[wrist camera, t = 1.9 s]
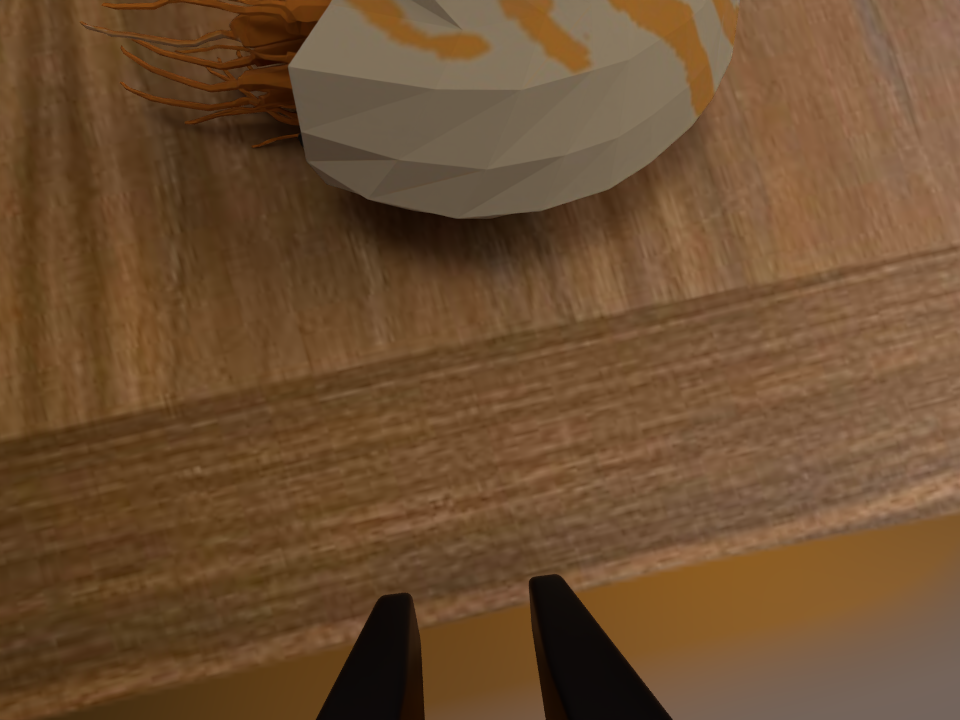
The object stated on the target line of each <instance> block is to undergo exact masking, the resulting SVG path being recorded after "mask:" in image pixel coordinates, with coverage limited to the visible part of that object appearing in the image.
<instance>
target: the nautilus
mask: <svg viewBox="0 0 960 720" xmlns="http://www.w3.org/2000/svg"><path fill="white" fill-rule="evenodd" d="M230 1H235V2H241V3H245V4H249V5H255V6H249V7H245V6H238V5H232V4H228V3H225V2H221V1H218V0H159V1H156V2H154V3H131V4H110V3H103V4H102V6H105V7H109V8H113V9H147V10H155V9H157V8H159V7H161V6H164V5H166V4H168V3H180V2H185V3H190V4H196V5H202V6H208V7H213V8H218V9H222V10H226V11H229V12H234V13H238V14H239V15H238V16H237V17H236V18H234V19H233V20H232V21H231V23H230V24H229V26H230V28H231V30H230V31H229V30H218V31H214V32H210V33H207V34H205V35H204V36H202V37H200V38H199V39H197V40H176V39H169V38H163V37H157V36H150V35H144V34H138V33H131V32H120V31H112V30H109V29H107V28H103V27H96V26H90V25H87V24H86V23H84V22H83V21H79V22H80V23H81V24H82V25H83V26H84V27H85V28H86V29H89V30H93V31H97V32H101V33H104V34H107V35H109V36H111V37H125V38H130V39H132V40H133V41H134V42H136V43H138V44H140V45H142V46H144V47H146V48H148V49H150V50H152V51H154V52H156V53H158V54H160V55H162V56H166V57H170V58H174V59H178V60H182V61H185V62H189V63H193V64H197V65H201V66H205V67H206V68H207V69H208V71H209V72H210V73H212V74H214V75H215V76H217V77H219V78H221V79H223V80H225V81H227V82H222V83H217V84H213V85H208V84H205V83H201V82H197V81H194V80H191V79H188V78H185V77H182V76H179V75H176V74H173V73H170V72H167V71H164V70H161V69H158V68H155V67H153V66H150V65H149V64H147V63H146V62H144V61H142V60H141V59H139V58H137V57H136V56H134V55H132V54H131V53H129V52H127V51H126V50H125V49H124V48H123V46H122V45H121V50H122V52H123V54H125V55H126V56H128V57H129V58H131V59H132V60H134V61H135V62H137V63H138V64H139V65H141V66H142V67H144V68H146V69H147V70H149V71H150V72H153V73H156V74H158V75H161V76H164V77H166V78H169V79H172V80H175V81H177V82H180V83H183V84H185V85H188V86H191V87H194V88H197V89H201V90H205V91H208V92H220V91H230V90H237V89H239V90H240V91H241V92H243V93H244V94H245V95H246V96H247V97H241V98H238V99H236V100H235V101H230V102H225V103H219V104H212V105H209V104H202V103H195V102H188V101H182V100H175V99H168V98H161V97H155V96H152V95H149V94H146V93H143V92H141V91H138V90H135V89H132V88H129V87H128V86H127V85H126V84H124V83H123V82H120V83H121V84H122V85H123V86H124V88H125V89H126V90H128V91H130V92H132V93H134V94H137V95H139V96H141V97H143V98H145V99H148V100H150V101H154V102H158V103H163V104H168V105H172V106H179V107H185V108H192V109H198V110H205V111H214V110H220V109H226V108H231V109H227V110H224V111H219V112H216V113H213V114H210V115H207V116H204V117H201V118H198V119H195V120H191V121H185V124H197V123H200V122H204V121H207V120H210V119H214V118H217V117H220V116H229V115H239V114H248V113H257V112H267V113H269V114H270V115H271V116H273V117H274V118H275V119H276V120H278V121H280V122H283V123H287V124H290V125H300V130H301V132H300V133H297V134H291V135H285V136H280V137H276V138H272V139H270V140H267V141H265V142H263V143H260V144H258V145H252V148H254V147H260V146H262V145H265V144H268V143H270V142H273V141H277V140H281V139H286V138H293V137H298V139H299V141H300V143H301V145H302V147H303V148H304V151H305V156H306V161H307V163H308V164H309V165H310V166H311V167H312V168H313V169H314V170H315V171H316V173H317V174H318V175H319V176H320V177H321V178H322V179H323V180H324V182H325V183H326V184H328V185H331V186H334V187H337V188H341V189H344V190H347V191H350V192H354V193H357V194H360V195H361V196H363V197H365V198H366V199H368V200H372V201H376V202H380V203H384V204H388V205H392V206H396V207H400V208H404V209H408V210H412V211H419V212H429V213H434V214H438V215H443V216H447V217H452V218H457V219H492V218H496V217H500V216H504V215H508V214H513V213H524V212H535V211H542V210H546V209H549V208H552V207H555V206H558V205H561V204H564V203H567V202H571V201H574V200H577V199H580V198H583V197H586V196H589V195H593V194H596V193H599V192H602V191H605V190H608V189H610V188H612V187H613V186H615V185H617V184H618V183H620V182H621V181H623V180H624V179H626V178H628V177H629V176H631V175H632V174H634V173H635V172H637V171H639V170H640V169H642V168H643V167H645V166H646V165H648V164H650V163H651V162H652V161H653V160H654V159H655V158H656V157H658V156H659V155H660V154H661V153H662V152H663V151H664V150H665V149H667V148H668V147H669V146H670V145H671V144H672V143H673V142H674V141H676V140H677V139H678V138H679V137H680V136H681V135H682V134H683V133H685V132H686V131H687V130H688V129H689V128H690V127H691V126H692V125H693V124H694V122H695V121H696V120H697V119H698V117H699V116H700V115H701V113H702V112H703V111H704V109H705V108H706V107H707V105H708V104H709V103H710V101H711V100H712V98H713V96H714V94H715V92H716V90H717V88H718V86H719V83H720V81H721V79H722V77H723V75H724V73H725V71H726V69H727V67H728V65H729V62H730V60H731V58H732V52H733V45H734V38H735V31H736V25H737V18H738V11H739V4H740V0H230ZM222 38H227V39H232V40H237V41H239V42H241V43H242V44H243V46H244V47H241V46H228V45H214V46H209V47H205V48H198V49H192V50H185V51H178V50H176V51H175V52H179V53H183V54H185V53H195V52H205V51H209V50H212V49H216V48H223V49H232V50H237V52H236V54H237V56H238V59H234V60H231V61H228V62H225V63H222V62H221V59H220V58H218V57H217V58H218V61H219V62H214V61H209V60H204V59H200V58H195V57H191V56H187V55H183V54H178V53H174V52H170V51H165V50H161V49H159V48H157V47H155V46H153V45H151V44H149V43H146V42H144V41H147V42H152V43H158V44H163V45H169V46H174V47H197V46H199V45H201V44H204V43H206V42H208V41H214V40H218V39H222ZM246 47H251V48H255V49H254V50H251V49H249V48H246ZM240 50H241V51H247V52H250V56H246V57H242V55H241V54H240ZM276 63H284V64H282V65H276V66H270V67H264V68H258V69H253V68H252V66H251V65H254V64H255V65H256V66H257V67H260V66H266V65H271V64H276ZM245 66H247V68H248V69H249V70H247V71H244V73H243V74H242V75H241V76H240V77H238V80H236V79H235V78H234V77H233V76H232V75H231V74H230V73H229V72H228V71H227V70H228V69H234V68H241V67H245ZM209 67H210V68H215V69H220V70H223V71H224V72H225V74H226V75H227V76H228V77H226V76H224V75H221V74H219V73H217V72H214V71H212V70H211V69H210V68H209ZM249 91H261V92H266V93H267V94H265V95H261V96H259V99H258V98H257V97H256V96H254V95H253V94H252V93H250V92H249ZM294 103H295V104H294ZM248 104H251V105H254V106H256V107H253V108H246V107H239V106H243V105H248ZM232 107H234V108H232ZM280 107H284V108H288V109H296V110H297V112H290V111H287V110H285V109H282V108H280ZM277 112H280V113H282V114H284V115H287V116H289V117H291V118H288V117H284V116H281V115H280V114H278V113H277ZM292 118H293V119H292Z"/></svg>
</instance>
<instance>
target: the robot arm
mask: <svg viewBox="0 0 960 720" xmlns="http://www.w3.org/2000/svg"><path fill="white" fill-rule="evenodd" d="M529 595H530V610H531V622H532V631H533V638H534V644H535V651H536V658H537V665H538V671H539V678H540V684H541V691H542V697H543V704H544V711H545V717H546V720H672V718H671V717H670V716H669V714H668V713H667V712H666V710H665V709H664V708H663V707H662V705H661V704H660V703H659V701H658V700H657V699H656V697H655V696H654V695H653V694H652V692H651V691H650V690H649V688H648V687H647V686H646V685H645V683H644V682H643V681H642V679H641V678H640V677H639V676H638V674H637V673H636V672H635V670H634V669H633V668H632V667H631V665H630V664H629V663H628V661H627V660H626V659H625V658H624V656H623V655H622V654H621V653H620V651H619V650H618V649H617V647H616V646H615V645H614V644H613V642H612V641H611V640H610V638H609V637H608V636H607V634H606V633H605V632H604V631H603V629H602V628H601V627H600V625H599V624H598V623H597V622H596V620H595V619H594V618H593V616H592V615H591V614H590V613H589V611H588V610H587V609H586V607H585V606H584V605H583V604H582V602H581V601H580V600H579V598H578V597H577V596H576V594H575V593H574V592H573V591H572V589H571V588H570V587H569V585H568V584H567V583H566V582H565V580H564V579H563V578H562V577H561V576H559V575H557V574H552V575H544V576H536V577H532V578H531V579H530V581H529ZM316 720H425V717H424V697H423V677H422V657H421V643H420V634H419V629H418V624H417V619H416V614H415V609H414V603H413V599H412V596H411V595H410V594H409V593H398V594H390V595H384V596H382V597H380V598H379V599H378V601H377V602H376V604H375V606H374V608H373V610H372V612H371V614H370V616H369V618H368V620H367V622H366V623H365V625H364V627H363V629H362V631H361V633H360V635H359V637H358V639H357V641H356V643H355V645H354V647H353V649H352V651H351V652H350V654H349V657H348V659H347V660H346V662H345V664H344V666H343V668H342V670H341V672H340V674H339V676H338V678H337V680H336V682H335V684H334V685H333V687H332V689H331V691H330V693H329V695H328V697H327V699H326V701H325V703H324V705H323V707H322V709H321V711H320V713H319V714H318V716H317V719H316Z"/></svg>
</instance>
